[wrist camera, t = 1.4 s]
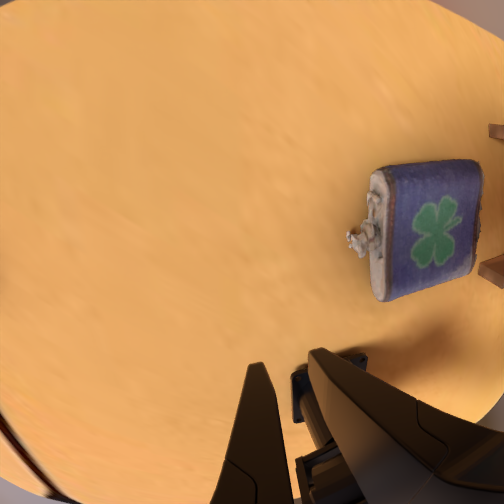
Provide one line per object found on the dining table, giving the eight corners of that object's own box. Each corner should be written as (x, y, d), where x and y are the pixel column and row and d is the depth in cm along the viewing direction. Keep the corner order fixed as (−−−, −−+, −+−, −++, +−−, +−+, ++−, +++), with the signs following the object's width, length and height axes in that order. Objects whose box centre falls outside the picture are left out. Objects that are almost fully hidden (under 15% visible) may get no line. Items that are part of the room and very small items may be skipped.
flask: (473, 279, 19) (359, 317, 19) (451, 263, 22) (342, 294, 21) (486, 161, 16) (359, 171, 15) (459, 154, 18) (337, 164, 18)
